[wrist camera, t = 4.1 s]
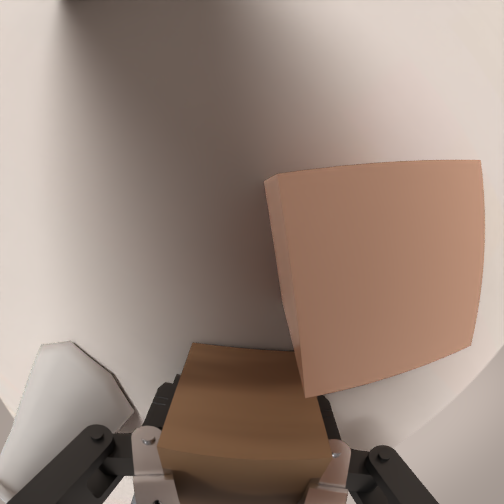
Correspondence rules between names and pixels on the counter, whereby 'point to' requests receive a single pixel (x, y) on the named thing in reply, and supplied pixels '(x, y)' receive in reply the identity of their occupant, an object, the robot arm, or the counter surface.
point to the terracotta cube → (377, 266)
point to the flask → (58, 412)
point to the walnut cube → (242, 429)
